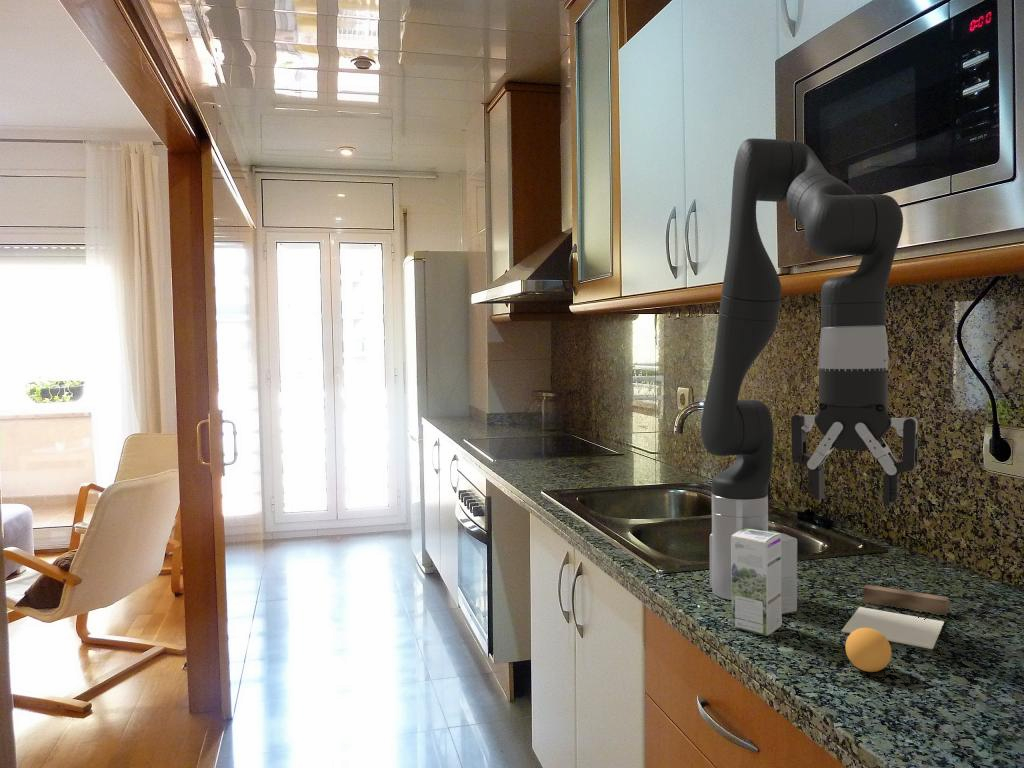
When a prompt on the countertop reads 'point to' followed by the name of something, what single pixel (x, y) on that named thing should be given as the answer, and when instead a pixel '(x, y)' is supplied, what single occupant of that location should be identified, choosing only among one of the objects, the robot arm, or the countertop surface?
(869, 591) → the stop rail
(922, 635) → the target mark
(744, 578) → the syrup box
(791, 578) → the skincare box
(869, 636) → the ball
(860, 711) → the countertop surface
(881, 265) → the robot arm
